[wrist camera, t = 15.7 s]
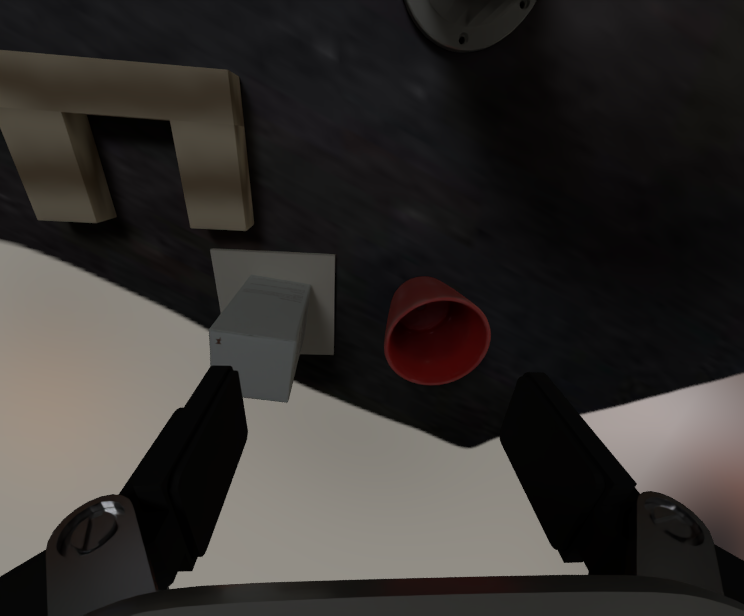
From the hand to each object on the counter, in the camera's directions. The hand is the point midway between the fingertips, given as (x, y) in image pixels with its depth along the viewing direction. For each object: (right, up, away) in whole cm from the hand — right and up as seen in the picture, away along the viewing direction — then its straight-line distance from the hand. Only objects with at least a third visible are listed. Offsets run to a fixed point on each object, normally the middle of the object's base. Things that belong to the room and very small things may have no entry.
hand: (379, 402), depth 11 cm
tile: (-12, +4, +29) cm, 32 cm away
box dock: (-23, +19, +21) cm, 36 cm away
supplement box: (-12, +4, +29) cm, 31 cm away
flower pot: (+6, +4, +30) cm, 31 cm away
